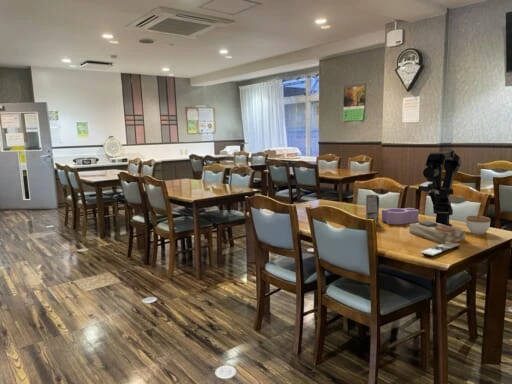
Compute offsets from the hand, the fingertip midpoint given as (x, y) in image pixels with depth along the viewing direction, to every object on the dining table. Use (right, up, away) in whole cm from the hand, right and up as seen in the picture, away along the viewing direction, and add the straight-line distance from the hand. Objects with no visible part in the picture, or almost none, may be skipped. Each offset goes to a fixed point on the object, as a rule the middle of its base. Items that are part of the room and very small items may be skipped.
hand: (434, 205), depth 204 cm
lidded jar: (+19, -14, -6) cm, 24 cm away
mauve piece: (-10, -10, +22) cm, 26 cm away
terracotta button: (-2, -14, -15) cm, 21 cm away
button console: (-4, -15, -10) cm, 18 cm away
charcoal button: (-6, -13, -5) cm, 15 cm away
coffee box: (-27, -11, +20) cm, 35 cm away
